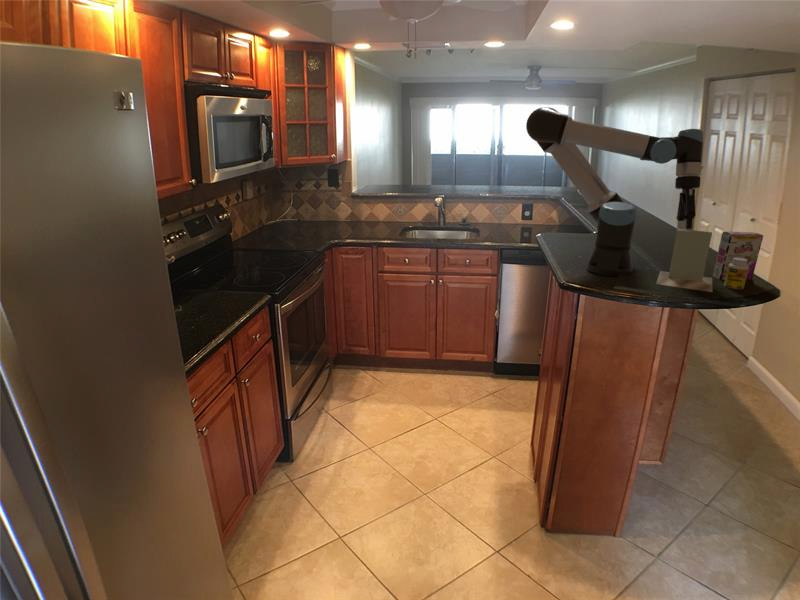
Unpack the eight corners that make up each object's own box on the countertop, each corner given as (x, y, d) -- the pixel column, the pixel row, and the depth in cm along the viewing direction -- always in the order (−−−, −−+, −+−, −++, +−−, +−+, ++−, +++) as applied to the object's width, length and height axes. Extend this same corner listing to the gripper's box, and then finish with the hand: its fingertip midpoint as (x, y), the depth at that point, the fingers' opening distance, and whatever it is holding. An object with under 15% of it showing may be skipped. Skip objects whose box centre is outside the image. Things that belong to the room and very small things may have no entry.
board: (655, 286, 174) (655, 283, 173) (659, 273, 189) (660, 270, 188) (711, 295, 166) (712, 292, 166) (711, 280, 182) (712, 277, 181)
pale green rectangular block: (668, 277, 181) (677, 230, 176) (668, 275, 183) (677, 228, 178) (701, 282, 176) (712, 233, 171) (702, 279, 179) (712, 232, 174)
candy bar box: (720, 282, 180) (730, 234, 174) (711, 278, 184) (721, 231, 179) (752, 283, 180) (764, 234, 175) (743, 278, 185) (754, 231, 179)
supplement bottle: (721, 290, 172) (728, 258, 169) (725, 286, 176) (731, 255, 173) (741, 293, 168) (748, 262, 165) (744, 289, 172) (752, 258, 169)
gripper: (708, 171, 171) (704, 238, 173) (693, 180, 195) (689, 239, 197) (682, 172, 174) (678, 238, 176) (670, 180, 197) (666, 239, 199)
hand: (684, 239), depth 186 cm, fingers open, 13 cm apart
